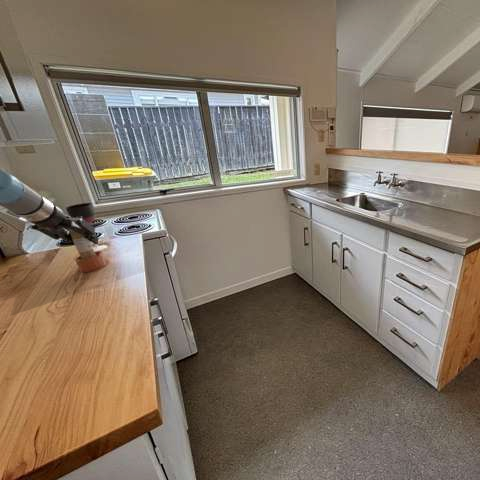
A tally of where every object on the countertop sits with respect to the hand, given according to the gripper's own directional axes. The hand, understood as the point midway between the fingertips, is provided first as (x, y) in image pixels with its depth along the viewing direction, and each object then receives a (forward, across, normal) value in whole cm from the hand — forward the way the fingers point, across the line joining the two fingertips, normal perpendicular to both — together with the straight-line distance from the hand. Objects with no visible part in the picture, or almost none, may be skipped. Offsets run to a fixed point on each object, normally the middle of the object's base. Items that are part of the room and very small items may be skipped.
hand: (88, 242), depth 98 cm
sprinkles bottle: (+1, 0, -6) cm, 6 cm away
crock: (+4, 0, -9) cm, 10 cm away
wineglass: (+19, -8, +6) cm, 22 cm away
